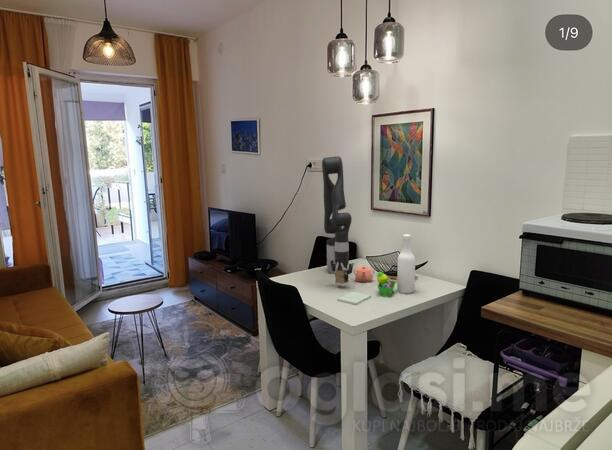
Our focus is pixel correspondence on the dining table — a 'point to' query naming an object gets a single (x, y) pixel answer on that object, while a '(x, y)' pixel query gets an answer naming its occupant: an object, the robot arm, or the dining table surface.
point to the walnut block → (340, 276)
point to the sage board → (354, 298)
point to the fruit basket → (384, 285)
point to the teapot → (363, 274)
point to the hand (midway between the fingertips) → (341, 280)
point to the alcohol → (406, 267)
